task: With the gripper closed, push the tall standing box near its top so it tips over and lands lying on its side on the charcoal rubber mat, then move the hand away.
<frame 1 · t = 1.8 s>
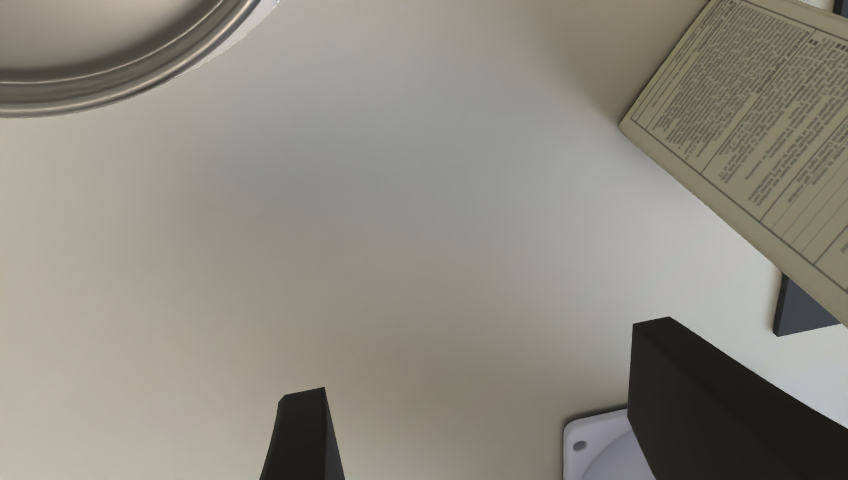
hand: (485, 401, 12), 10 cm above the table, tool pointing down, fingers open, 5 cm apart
box: (716, 82, 22), on the table
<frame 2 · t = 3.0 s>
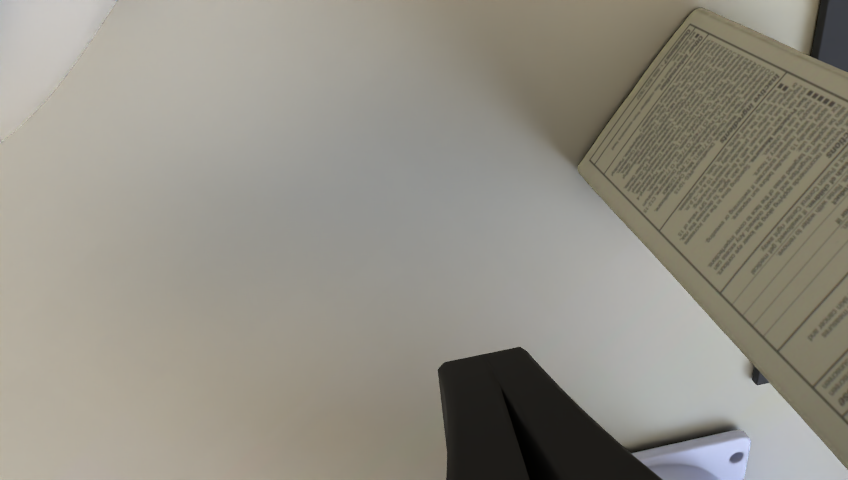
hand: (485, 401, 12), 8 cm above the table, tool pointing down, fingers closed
box: (685, 119, 20), on the table
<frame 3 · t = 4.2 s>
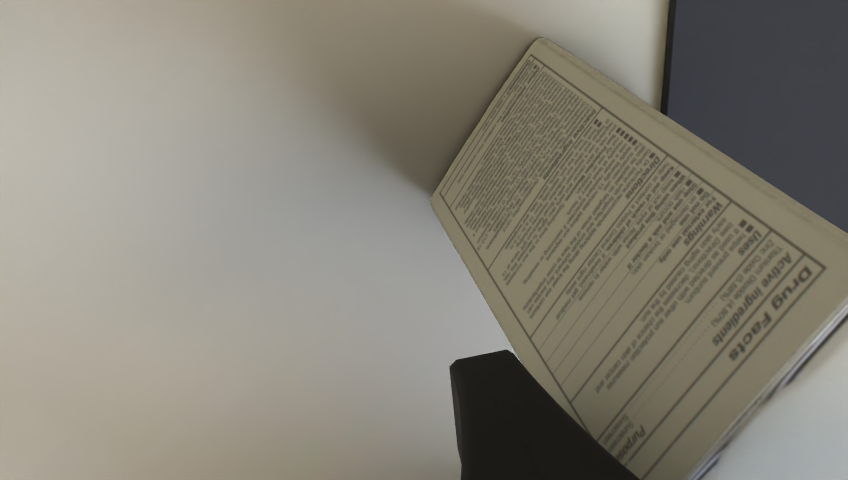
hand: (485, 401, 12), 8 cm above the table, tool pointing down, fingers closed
box: (540, 149, 20), on the table, touching gripper
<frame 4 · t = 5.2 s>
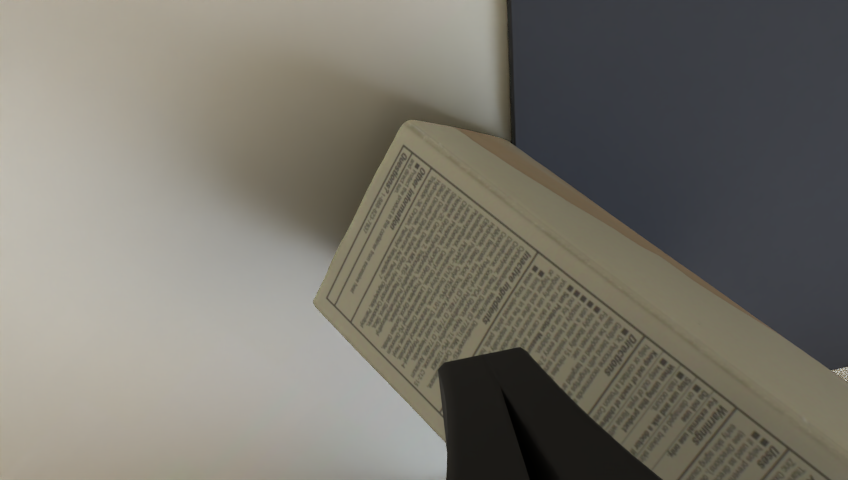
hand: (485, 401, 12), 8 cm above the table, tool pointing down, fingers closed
box: (406, 206, 18), point 1 cm above the table
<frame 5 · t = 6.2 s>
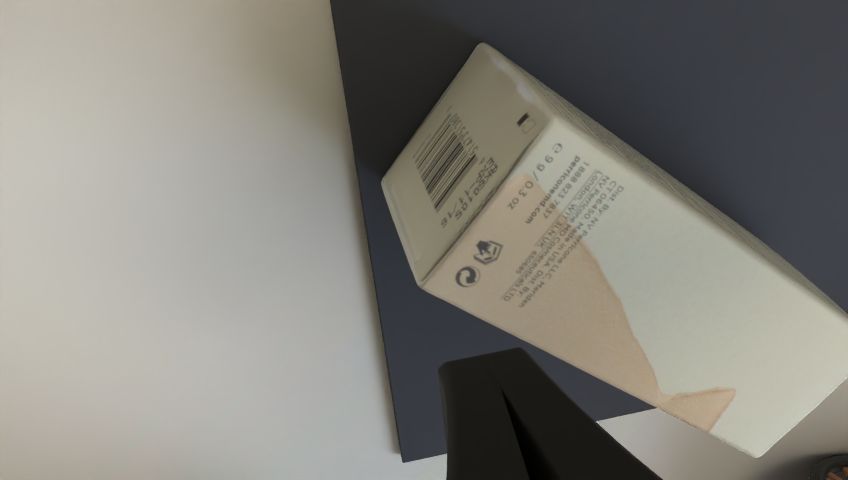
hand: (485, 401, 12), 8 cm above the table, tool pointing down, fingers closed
mat: (730, 115, 20), on the table
box: (441, 143, 16), point 3 cm above the table, touching mat
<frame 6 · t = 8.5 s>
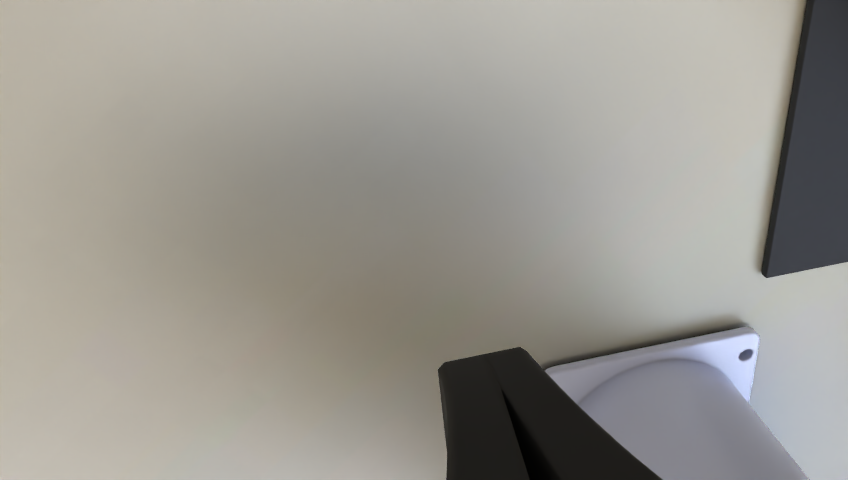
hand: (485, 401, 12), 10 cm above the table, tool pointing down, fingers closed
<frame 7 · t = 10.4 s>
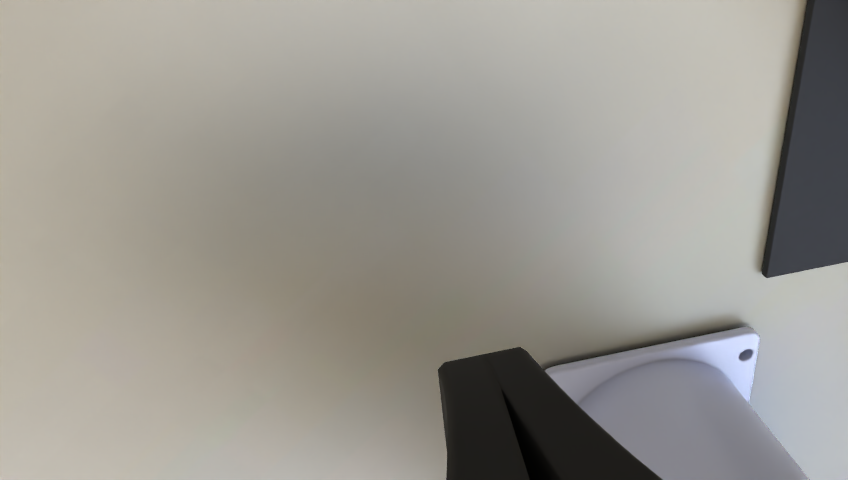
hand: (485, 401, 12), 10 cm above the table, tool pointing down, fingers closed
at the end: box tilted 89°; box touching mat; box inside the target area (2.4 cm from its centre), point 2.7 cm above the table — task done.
